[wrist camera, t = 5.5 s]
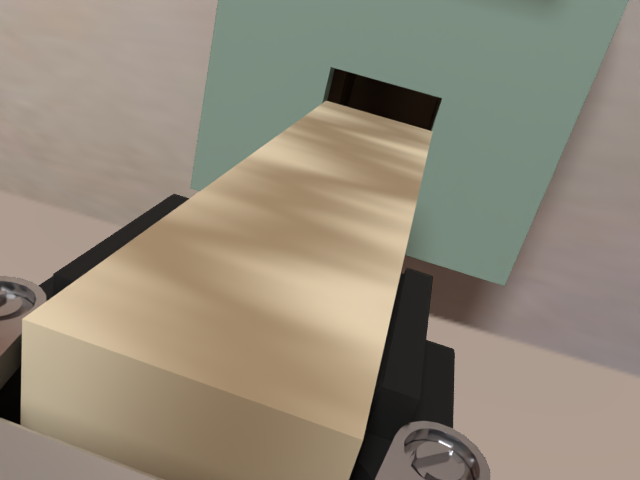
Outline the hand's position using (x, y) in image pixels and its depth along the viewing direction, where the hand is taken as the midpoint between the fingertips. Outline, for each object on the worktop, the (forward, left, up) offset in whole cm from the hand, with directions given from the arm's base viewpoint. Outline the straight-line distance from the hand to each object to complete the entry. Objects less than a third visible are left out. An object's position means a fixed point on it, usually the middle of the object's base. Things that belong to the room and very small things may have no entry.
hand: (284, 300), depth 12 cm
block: (0, 0, -11) cm, 11 cm away
